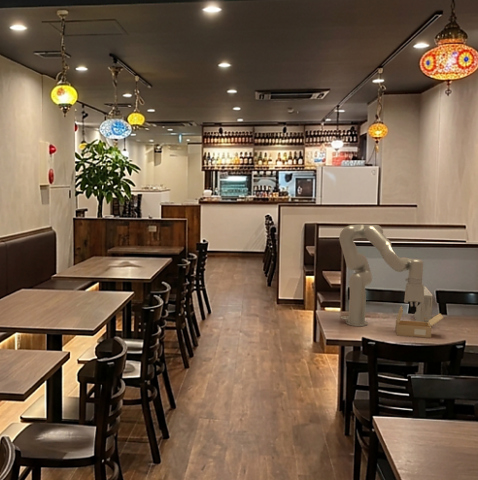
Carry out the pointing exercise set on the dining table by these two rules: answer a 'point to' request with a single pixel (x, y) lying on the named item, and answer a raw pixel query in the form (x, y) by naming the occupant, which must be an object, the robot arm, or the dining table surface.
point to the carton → (413, 329)
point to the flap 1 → (399, 314)
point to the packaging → (424, 308)
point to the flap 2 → (435, 319)
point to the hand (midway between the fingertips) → (413, 313)
